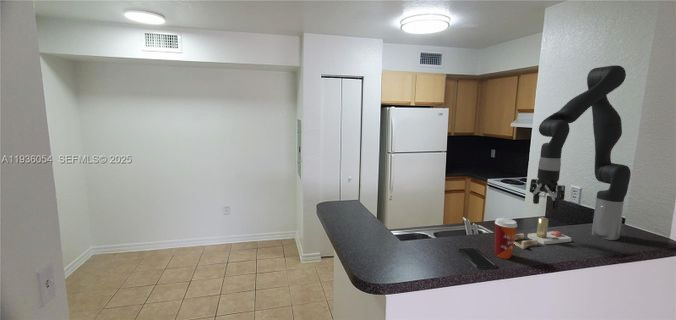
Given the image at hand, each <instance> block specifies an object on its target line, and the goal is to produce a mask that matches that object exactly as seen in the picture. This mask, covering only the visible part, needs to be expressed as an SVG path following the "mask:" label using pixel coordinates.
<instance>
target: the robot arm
mask: <svg viewBox="0 0 676 320" xmlns="http://www.w3.org/2000/svg"><path fill="white" fill-rule="evenodd" d="M626 75H627V72H626V70H625V68H624V67H623V66H621V65H616V64H615V65H614V64H613V65H606V66H600V67H594V68H592V69H591V70H590V71H589V72H588V74H587V77H586V84H587V90H585V91H584V92H582V93H580V94H578V95H576V96H574V97H573V98H571V99H570V100H569V101H568V102H566V104H565V105H563V107H561V108H560V109H559V110H558V111H556V112H554V113H552V114H550V115H549V116H548V117H545V118H544V119H543V121H541V123H540V124H539V126H538V132H539V134H540V135H541V136H543V137H549V138H551V139H550V141H549V142H544V143H542V145H541V147H540V148H541V149H540V155H539V156H540V157H539V161H538V168H537V174H536V175H537V178H532V179H531V180H530V185H529V193H532V195H533V198H532V204H535V205H538V204H539V203H540V194H541V193H546V194H548V195H549V196H550V197H551V199H552V200H551V206H550V207H551V208H550V210H553V211H554V210H555V211H556V210H557V209H558V208H559V204H560V203H559V202H560V201H564V200H565V197H566V196H565V193H566V186H565V185H564V184H563V185H560V184H559V183H558V182H559V180H560V174H561V166H562V160H561V159H562V152H563V147H564V145H565V143H566V141H567V139H568V136H569V133H570V131H571V130H570V129H571V128H570V124H573V123H574V122H576V121H577V120H578V119H579V118H581V116H582V115H583V114H584V113H585V112H586V111H587V110H588V109H590V108H591V111H592V129H593V137H594V151H595V152H594V175H595V179H596V180H597V181H598V182H599V183H604V184H609V188H608V189H605V190H604V189H603V190H598V191H597V193H596V198H595V206H594V212H593V220H592V228H591V235H592V236H595V237H598V238H601V239H603V240H608V241H609V240H610V241H617V240H619V239H620V236H621V230H622V223H623V216H622V215H623V210H624V209H623V208H624V202H625V198H626V196H627V193H628V189H629V185H630V181H631V174H632V173H631V169H630V167H629V166H628V165H625V164H620V163H613V162H612V161H611V160H612V159H611V158H612V157H611V155H612V154H611V153H612V151H613V148H614V147H615V146H616V144H617V143H618V142H619V141H620V138H621V137H622V134H623V127H622V126H623V125H622V118H621V116H620V114H619V112H618V111H617V110H616V109H615V108H614V107H613V105H612V104H611V102H610V101H609V99H608V95H609V94H611V92H613V91H614V90H616V89H618V88H619V87H620V86H621V85H622V84H624V82H625V80H626V77H627V76H626Z"/></svg>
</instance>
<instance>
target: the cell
mask: <svg viewBox="0 0 676 320" xmlns="http://www.w3.org/2000/svg"><path fill="white" fill-rule="evenodd" d="M548 227H549V218H547V217H544V216H543V217H541V216H540V217H538V219H537V229H536V233H537V235H536V236H537V237H539V238H546V237H547V232H548Z"/></svg>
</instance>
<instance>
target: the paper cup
mask: <svg viewBox="0 0 676 320" xmlns="http://www.w3.org/2000/svg"><path fill="white" fill-rule="evenodd" d="M494 224H495V228H494V229H495V230H494V231H495V232H494V235H495V236H494V255H495V256H496V257H497V258H500V259H505V260H506V259H507V260H509V259H511V258H512V255H513V249H514V239H515V234H517V233H516V232H517V227H518V224H517V221H516V220H514V219H511V218H507V217H497V218H496V219H495V221H494Z"/></svg>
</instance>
